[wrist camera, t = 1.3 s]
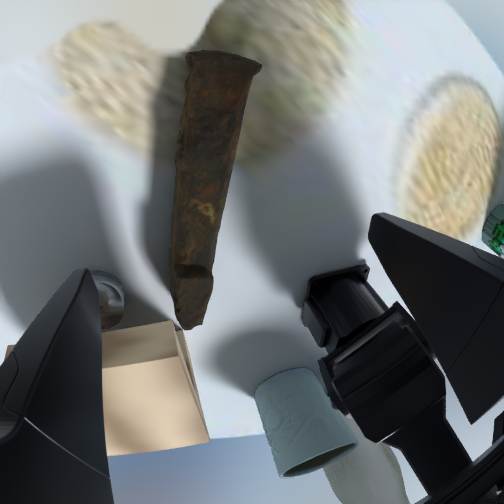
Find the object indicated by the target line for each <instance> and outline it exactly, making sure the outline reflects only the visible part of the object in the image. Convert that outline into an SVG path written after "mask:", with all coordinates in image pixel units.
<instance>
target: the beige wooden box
mask: <svg viewBox="0 0 504 504" xmlns="http://www.w3.org/2000/svg"><path fill="white" fill-rule="evenodd" d="M14 346H15V345H8V347H7V351H6V355H5V359H6V358H7V356H8V355H9V353H10V352H11V351H13V348H14ZM5 359H4V360H5ZM102 387H103V411H104V427H105V439H106V450H107V456H111V455H123V454H134V453H142V452H151V451H159V450H166V449H171V448H178V447H184V446H190V445H195V444H200V443H206V442H210V438H209V434H208V430H207V427H206V423H205V419H204V415H203V411H202V407H201V403H200V399H199V395H198V390H197V386H196V382H195V377H194V373H193V368H192V364H191V359H190V355H189V351H188V348H187V344H186V340H185V337H184V333H183V330H179V331H175V327H174V324H173V320H169V321H164V322H158V323H153V324H148V325H142V326H136V327H131V328H125V329H119V330H113V331H107V332H102Z"/></svg>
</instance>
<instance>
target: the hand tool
mask: <svg viewBox="0 0 504 504" xmlns="http://www.w3.org/2000/svg"><path fill="white" fill-rule="evenodd" d="M185 59H186V61H187V64H188V66H189V69H190V74H189V76H188V78H187V80H186V82H185V88H186V90H187V98H186V100H185V104H184V110H183V115H182V117H181V130H180V133H179V135H178V140H177V143H179V147H178V151H177V153H176V155H175V163H176V179H175V190H174V204H173V214H172V226H171V243H170V250H169V269H170V272H169V273H170V287H171V296H172V299H173V302H174V310H175V316H176V318H177V321H179V324H180V325H181V328H183V329H184V330H191V329H193V328H194V327H195V326H198V325H202V323H203V319H204V316H205V313H206V310H207V305H208V302H209V299H210V297H211V293H212V290H213V282H214V280H213V275H212V267H213V263H214V257H215V250H216V244H217V236H218V232H219V229H220V225H221V219H222V214H223V210H224V206H225V202H226V197H227V192H228V187H229V182H230V177H231V173H232V167H233V163H234V158H235V153H236V148H237V144H238V140H239V135H240V130H241V124H242V119H243V113H244V109H245V105H246V100H247V96H248V92H249V88H250V85H251V81H252V78H253V76H254V75H256V74H257V73H259V72H260V70H261V68H262V64H260V63H258V62H256V61H254V60H251V59H248V58H245V57H242V56H239V55H235V54H230V53H225V52H221V51H207V50H202V51H198V52H196V51H195V52H189V53H187V55H186V57H185Z"/></svg>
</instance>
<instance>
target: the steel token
mask: <svg viewBox="0 0 504 504" xmlns="http://www.w3.org/2000/svg"><path fill="white" fill-rule="evenodd" d="M90 272H91V275H92V277H93V280H94V282H95V285H96V287H97V289H98V293H99V304H100V319H101V329H106V328H110V327H112V326H114V325H116V324H117V323H119V322H120V320H121V319H122V317H123V314H124V289H123V287H122V285H121V283H120V282H119V281H118V280H117V279H116V278H115V277H114V276H112V275H110V274H108V273H106V272H102V271H90Z"/></svg>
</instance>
